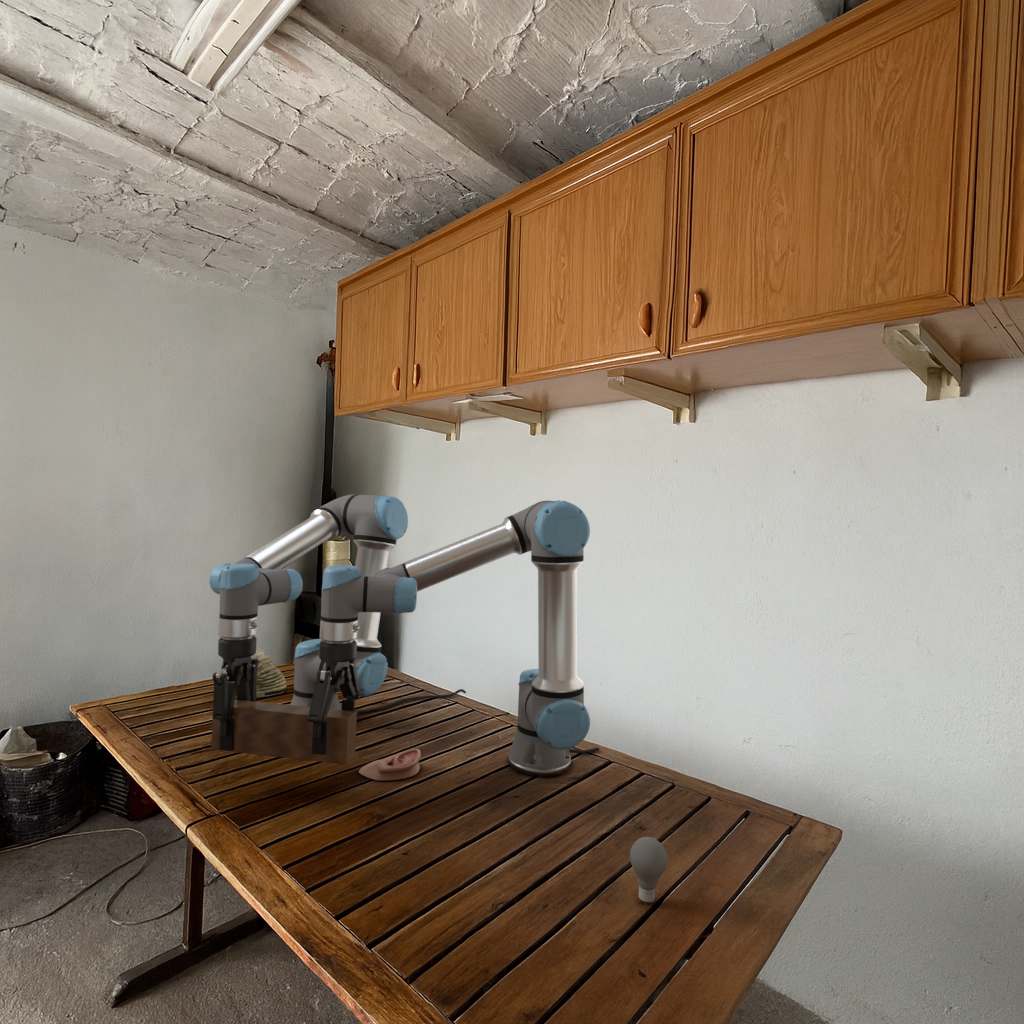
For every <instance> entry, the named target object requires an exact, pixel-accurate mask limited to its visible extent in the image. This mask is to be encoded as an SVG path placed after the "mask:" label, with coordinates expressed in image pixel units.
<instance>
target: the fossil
mask: <svg viewBox="0 0 1024 1024" xmlns="http://www.w3.org/2000/svg"><path fill="white" fill-rule="evenodd" d="M251 659H258V660H259V663H258V668H257V683H256V698H264V697H271V696H275V695H281V694H284V693H285V691H286V689H287V687H288V686H287V680H286V678H285V676H284V674H283V673H282V672H281V669H279V668H278V667H277V665H276V663H275V662H274V660H273V659H272V658H271V657H270V656H269V655H268V654H267V653H266V652H265V650H264V649H263V648H260V647H258V648H257V647H256V653H255V654H254V655H252V656H251ZM228 682H230V681H228ZM233 683H234V682H233ZM250 698H251V697H250ZM235 699H237V692H236V696H235Z"/></svg>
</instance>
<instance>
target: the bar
mask: <svg viewBox="0 0 1024 1024" xmlns="http://www.w3.org/2000/svg"><path fill="white" fill-rule="evenodd" d="M309 710H310V707H305V706H295V705H290V704H283V703H273V702H263V701H256V702H254V701H244V700H237V699H235V702H234V709H233V715H232V719H235V721H234V749H233V750H232V751H229V750H220V720H215V719H213V711H212V712H211V713H212V714H211V715H212V717H211V743H210V744H211V746H210V747H211V748H210V750H212V751H213V750H214V751H219V752H221V751H222V752H228V753H237V754H238V753H240V754H247V755H254V756H255V755H257V756H265V757H272V758H273V757H274V758H283V759H291V760H300V761H308V762H309V761H310V762H319V763H328V764H336V765H344V766H345V765H348V764H349V763H350V762H351V761H352V760H353V758H355V757H356V745H357V721H358V720H357V719H358V713H357V712H356V711H345V710H335V709H329V711H328V714H327V717H326V720H325V721H328V727H327V748H326V754H325V755H319V754H312V737H313V722H308V721H307V718H308V714H309Z"/></svg>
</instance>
